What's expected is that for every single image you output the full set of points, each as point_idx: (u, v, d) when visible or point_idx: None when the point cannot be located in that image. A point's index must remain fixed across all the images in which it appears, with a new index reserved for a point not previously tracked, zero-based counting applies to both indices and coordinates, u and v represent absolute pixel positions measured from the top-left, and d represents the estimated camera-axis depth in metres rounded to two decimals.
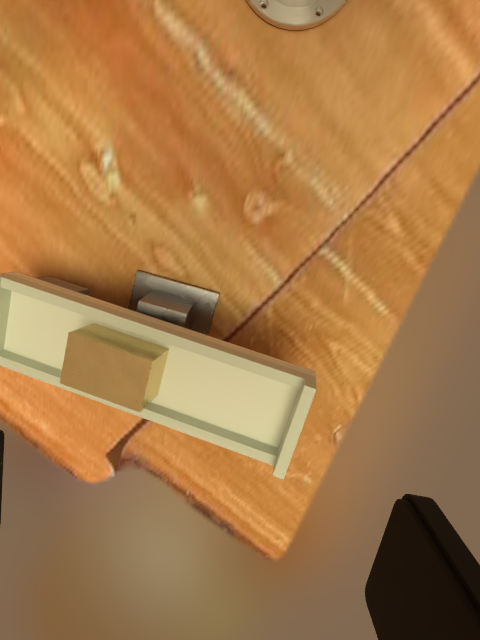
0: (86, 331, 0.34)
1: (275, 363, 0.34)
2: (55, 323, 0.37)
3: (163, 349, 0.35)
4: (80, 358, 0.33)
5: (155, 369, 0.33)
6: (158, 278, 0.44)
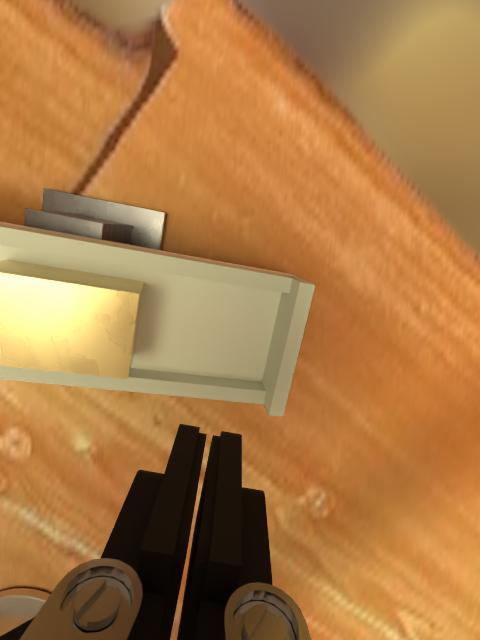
0: None
1: None
2: (195, 342, 0.26)
3: None
4: (102, 342, 0.20)
5: None
6: None
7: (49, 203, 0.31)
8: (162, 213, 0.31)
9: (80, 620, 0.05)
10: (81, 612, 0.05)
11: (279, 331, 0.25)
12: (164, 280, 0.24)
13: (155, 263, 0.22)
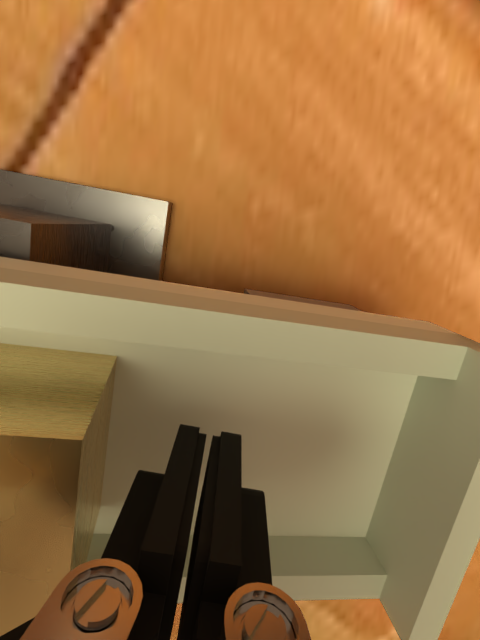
0: None
1: None
2: None
3: None
4: None
5: None
6: None
7: None
8: (164, 203, 0.17)
9: (80, 620, 0.05)
10: (81, 612, 0.05)
11: (426, 458, 0.11)
12: (170, 352, 0.10)
13: (147, 325, 0.09)
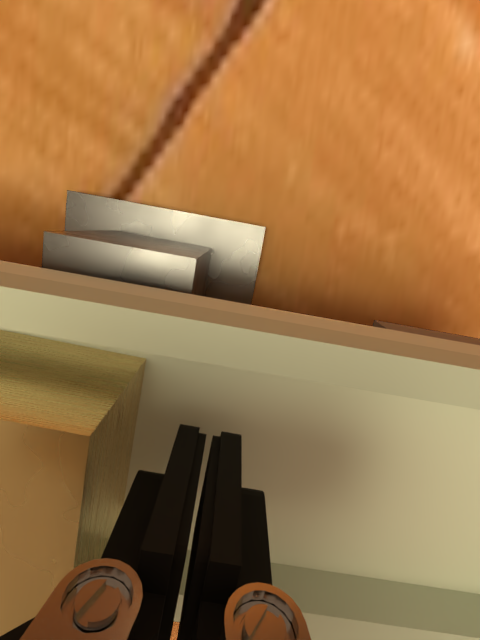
0: None
1: None
2: (384, 517, 0.12)
3: None
4: None
5: None
6: None
7: (76, 214, 0.19)
8: (262, 228, 0.19)
9: (80, 620, 0.05)
10: (81, 612, 0.05)
11: None
12: (329, 389, 0.11)
13: (328, 365, 0.09)
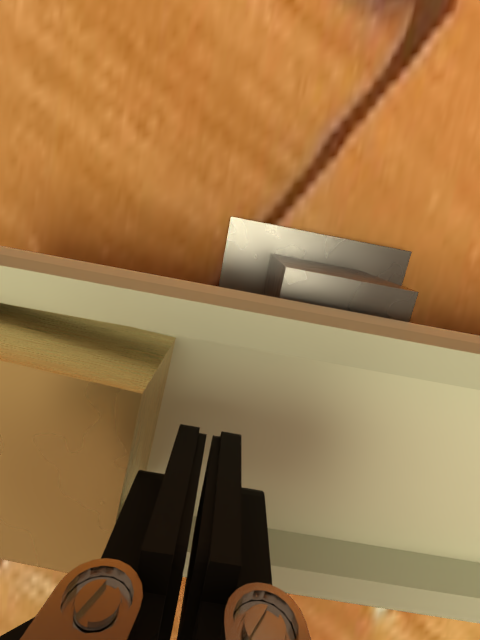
0: None
1: None
2: None
3: None
4: (48, 497, 0.08)
5: None
6: None
7: (237, 238, 0.20)
8: (407, 252, 0.20)
9: (80, 620, 0.05)
10: (81, 612, 0.05)
11: None
12: None
13: None
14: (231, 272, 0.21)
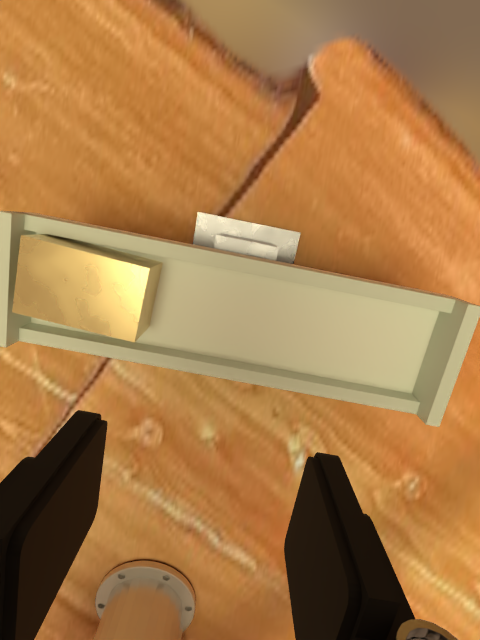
0: None
1: None
2: (355, 353, 0.29)
3: None
4: (115, 307, 0.24)
5: None
6: None
7: (201, 224, 0.36)
8: (298, 233, 0.36)
9: None
10: None
11: (438, 347, 0.27)
12: (334, 297, 0.28)
13: (334, 283, 0.26)
14: (198, 243, 0.36)
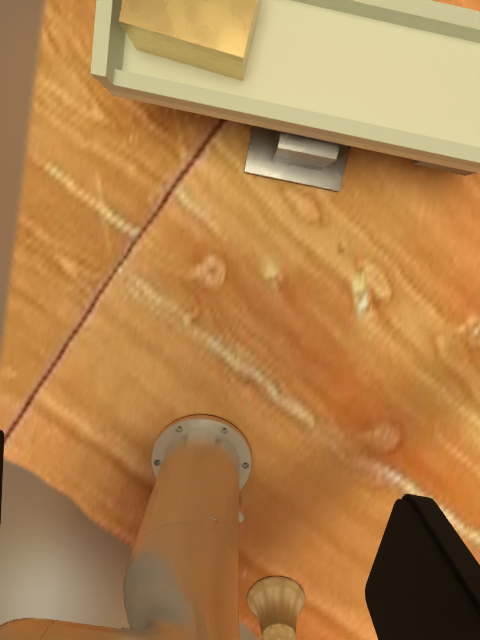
0: (231, 63, 0.25)
1: (156, 99, 0.28)
2: (453, 112, 0.28)
3: (139, 47, 0.26)
4: (226, 14, 0.23)
5: None
6: (314, 184, 0.38)
7: None
8: None
9: None
10: None
11: None
12: (435, 45, 0.27)
13: (442, 13, 0.25)
14: None
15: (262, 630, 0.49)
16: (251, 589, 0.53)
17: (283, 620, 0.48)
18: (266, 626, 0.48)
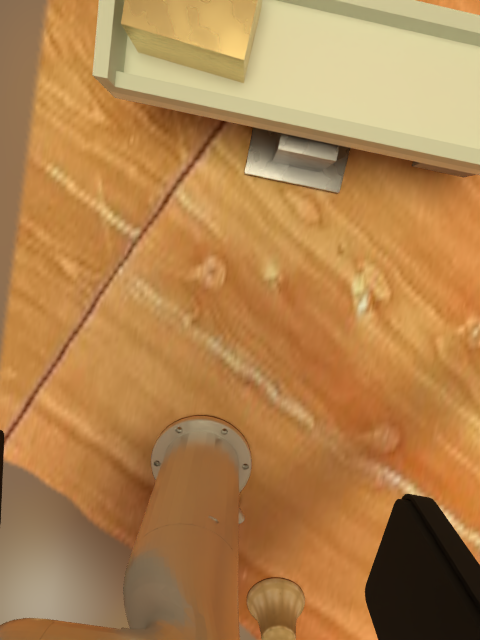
0: (232, 66, 0.25)
1: (158, 101, 0.28)
2: (452, 114, 0.28)
3: (140, 49, 0.27)
4: (227, 17, 0.23)
5: None
6: (314, 186, 0.38)
7: None
8: None
9: None
10: None
11: None
12: (434, 48, 0.27)
13: (441, 16, 0.25)
14: None
15: (262, 632, 0.48)
16: (251, 591, 0.52)
17: (283, 621, 0.48)
18: (266, 628, 0.48)
